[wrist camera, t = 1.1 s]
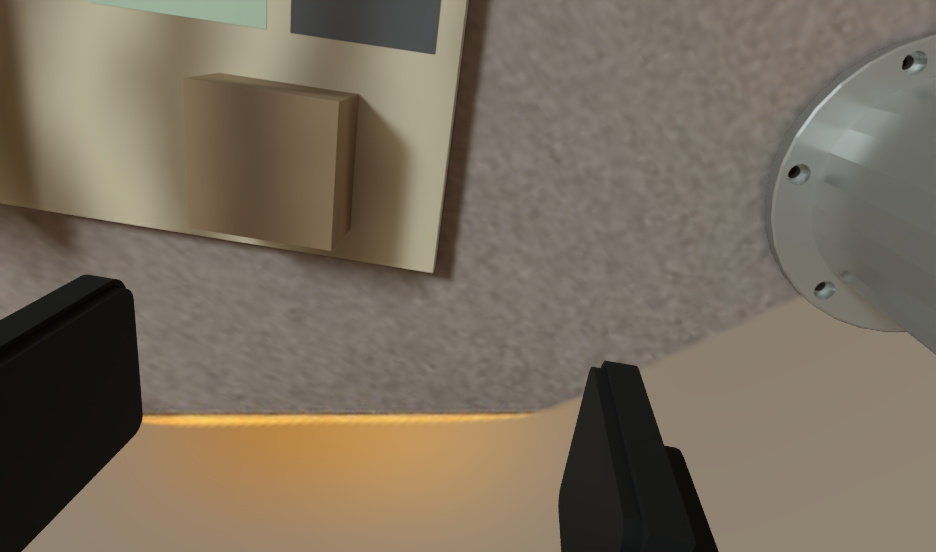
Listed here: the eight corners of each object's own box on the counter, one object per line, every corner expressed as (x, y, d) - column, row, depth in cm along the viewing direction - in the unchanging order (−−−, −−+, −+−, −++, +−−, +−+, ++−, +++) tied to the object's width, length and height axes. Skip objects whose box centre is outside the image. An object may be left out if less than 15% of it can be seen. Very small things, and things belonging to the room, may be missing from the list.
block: (359, 94, 26) (338, 101, 23) (350, 228, 28) (330, 250, 25) (219, 72, 26) (182, 77, 23) (222, 208, 28) (188, 227, 25)
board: (488, -154, 23) (481, -190, 19) (435, 265, 29) (422, 299, 26) (-78, -234, 23) (-191, -283, 20) (-7, 194, 30) (-83, 217, 26)
